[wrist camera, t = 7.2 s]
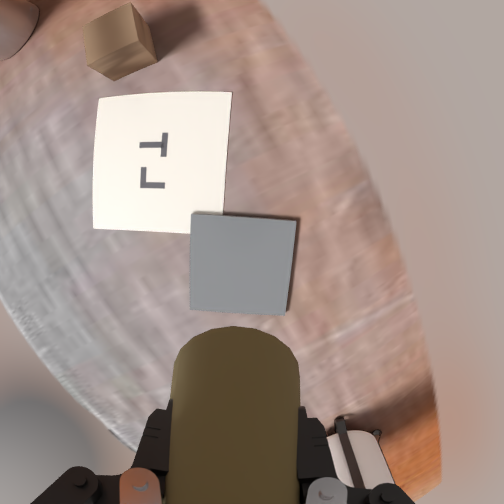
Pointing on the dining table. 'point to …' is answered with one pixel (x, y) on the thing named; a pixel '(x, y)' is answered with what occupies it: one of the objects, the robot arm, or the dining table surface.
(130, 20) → the walnut block
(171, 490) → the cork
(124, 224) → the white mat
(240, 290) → the slate coaster
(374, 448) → the coffee press
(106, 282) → the dining table surface
